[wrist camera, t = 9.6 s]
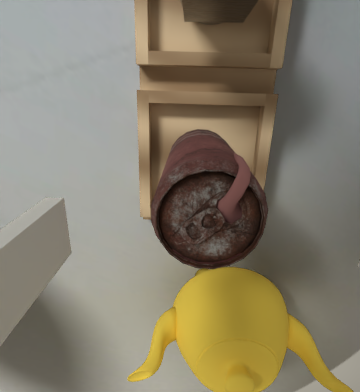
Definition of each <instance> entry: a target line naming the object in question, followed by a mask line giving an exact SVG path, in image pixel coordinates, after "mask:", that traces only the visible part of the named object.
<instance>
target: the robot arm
mask: <svg viewBox="0 0 360 392" xmlns="http://www.w3.org/2000/svg"><path fill="white" fill-rule="evenodd" d="M70 254H71V246H70V239H69V232H68V225H67V218H66V211H65V204H64V198H53V197H46V198H44V199H43V200H41V201H40V202H39V203H37V204H36V205H34V206H33V207H32V208H30V209H29V210H27V211H26V212H24V213H23V214H22V215H20V216H19V217H17V218H16V219H15V220H13V221H12V222H10V223H9V224H7V225H6V226H5V227H3V228H2V229H0V346H1V345H2V344H3V342H4V341H5V340H6V338H7V337H8V336H9V334H10V333H11V332H12V330H13V329H14V328H15V326H16V325H17V324H18V323H19V321H20V320H21V319H22V317H23V316H24V315H25V313H26V312H27V311H28V309H29V308H30V307H31V305H32V304H33V303H34V301H35V300H36V299H37V298H38V296H39V295H40V294H41V292H42V291H43V290H44V288H45V287H46V286H47V284H48V283H49V282H50V280H51V279H52V278H53V276H54V275H55V274H56V273H57V271H58V270H59V269H60V267H61V266H62V265H63V263H64V262H65V261H66V259H67V258H68V257H69V255H70ZM358 267H359V269H360V260H359V263H358Z"/></svg>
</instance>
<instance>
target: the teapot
mask: <svg viewBox="0 0 360 392" xmlns="http://www.w3.org/2000/svg"><path fill="white" fill-rule="evenodd" d="M174 340H176V342H177V344H178V347H179V349H180V352H181V354H182V355H183V357H184V359H185V361H186V362H187V364H188V365H189V367H190V368H191V370H192V371H193V373H194V374H195V376H196V377H197V378H198V379H199V380H200V381H201V383H202V384H203V385H204V386H206V387H207V388H208V389H210V390H212V391H214V392H260V391H262V390H264V389H266V388H267V387H268V386H269V385H271V384H272V383H273V381H274V380H275V379H276V377H277V375H278V373H279V371H280V369H281V366H282V363H283V360H284V357H285V353H286V350H287V348H289V349H290V350H292V351H293V352H295V353H296V354H297V355H298V356H299V357H300V358H301V359H302V360H303V361H304V363H305V364H306V366H307V367H308V369H309V370H310V372H311V373H312V375H313V376H314V377H315V378H316V379H317V380H318V382H320V383H321V384H322V385H323V386H324V387H326V388H327V389H329V390H331V391H333V392H353V390H351V389H350V388H349V387H348V386H347V385H345V384H344V383H342V382H341V381H340V380H338V379H337V378H336V377H335V376H334V375H333V374H332V373H331V372H330V371H329V369H328V368H327V367H326V365H325V364H324V362H323V360H322V358H321V356H320V354H319V351H318V349H317V347H316V344H315V342H314V340H313V338H312V336H311V335H310V333H309V331H308V330H307V329H306V327H305V326H304V325H303V324H302V323H301V322H299V321H298V320H297V319H296V318H294V317H293V316H291V315H290V314H288V313H287V308H286V305H285V302H284V300H283V297H282V295H281V293H280V291H279V290H278V289H277V287H276V286H275V285H274V284H273V283H272V282H270V281H269V280H268V279H267V278H265V277H264V276H262V275H260V274H258V273H256V272H254V271H251V270H248V269H243V268H236V267H221V268H217V269H211V270H209V269H200V270H198V271H197V272H196V274H195V277H193V278H192V279H190V280H189V281H188V282H187V283H186V284H185V285H184V286H183V287H182V288H181V290H180V291H179V293H178V294H177V297H176V299H175V301H174V305H173V307H172V308H171V309H169V310H168V311H166V312H165V313H164V314H163V315H162V316H161V317H160V318H159V320H158V321H157V323H156V326H155V328H154V333H153V337H152V342H151V347H150V351H149V354H148V357H147V359H146V361H145V362H144V363H143V364H142V366H141V367H139V368H138V369H137V370H136V371H134V372H133V373H132V374H130V375H129V377H128V379H127V380H128V381H131V382H135V381H141V380H144V379H146V378H148V377H150V376H152V375H153V374H154V373H155V372H156V371H157V370H158V369H159V367H160V365H161V362H162V359H163V355H164V351H165V348H166V347H167V345H168V344H169V343H171V342H173V341H174Z"/></svg>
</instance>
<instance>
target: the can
mask: <svg viewBox="0 0 360 392" xmlns="http://www.w3.org/2000/svg"><path fill="white" fill-rule="evenodd" d="M267 213H268V208H267V202H266V196H265V193H264V191H263V189H262V187H261V186H260V184H259V182H258V181H257V179H256V177H255V176H254V175H253V174H252V173H251V171H250V168H249V166H248V165H247V163H246V162H245V160H244V158H243V157H241V156H240V155H238V154H236V153H235V152H234V151H233V149H232V148H231V147H230V146H229V145H228V143H227V142H226V141H225V140H224V139H223V138H222V137H221V136H219V135H218V134H217V133H215V132H212V131H210V130H203V129H196V130H192V131H189V132H186V133H185V134H183V135H182V136H180V137H179V138H178V139H177V140H176V142H175V143H174V144H173V145H172V148H171V151H170V153H169V156H168V159H167V162H166V164H165V167H164V170H163V173H162V175H161V178H160V181H159V184H158V187H157V189H156V192H155V195H154V198H153V200H152V203H151V222H152V225H153V228H154V230H155V233H156V236H157V237H158V239H159V240H160V242H161V243H162V245H163V246H164V247H165V249H166V250H167V251H168V253H169V254H170V255H172V256H173V257H174V258H176V259H177V260H179V261H180V262H182V263H184V264H187V265H190V266H193V267H196V268H203V269H217V268H221V267H226V266H230V265H232V264H234V263H236V262H238V261H240V260H242V259H244V258H245V257H246V256H247V255H248V254H249V253H250V252H251V251H252V250H253V249H254V248H255V247H256V246H257V244H258V242H259V240H260V238H261V237H262V235H263V231H264V228H265V224H266V219H267Z"/></svg>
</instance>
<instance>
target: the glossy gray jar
mask: <svg viewBox="0 0 360 392" xmlns="http://www.w3.org/2000/svg"><path fill="white" fill-rule="evenodd" d="M180 2H181V4H182V6H183V14H184V22H199V23H201V24H205V25H217V24H221V23H223V22H225V23H243V22H244V21H245V19H246V18H247V16H248V15H249V13H250V12H251V11H252V9H253V8H254V6H255V5H256V3H257V2H258V0H180Z"/></svg>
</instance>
